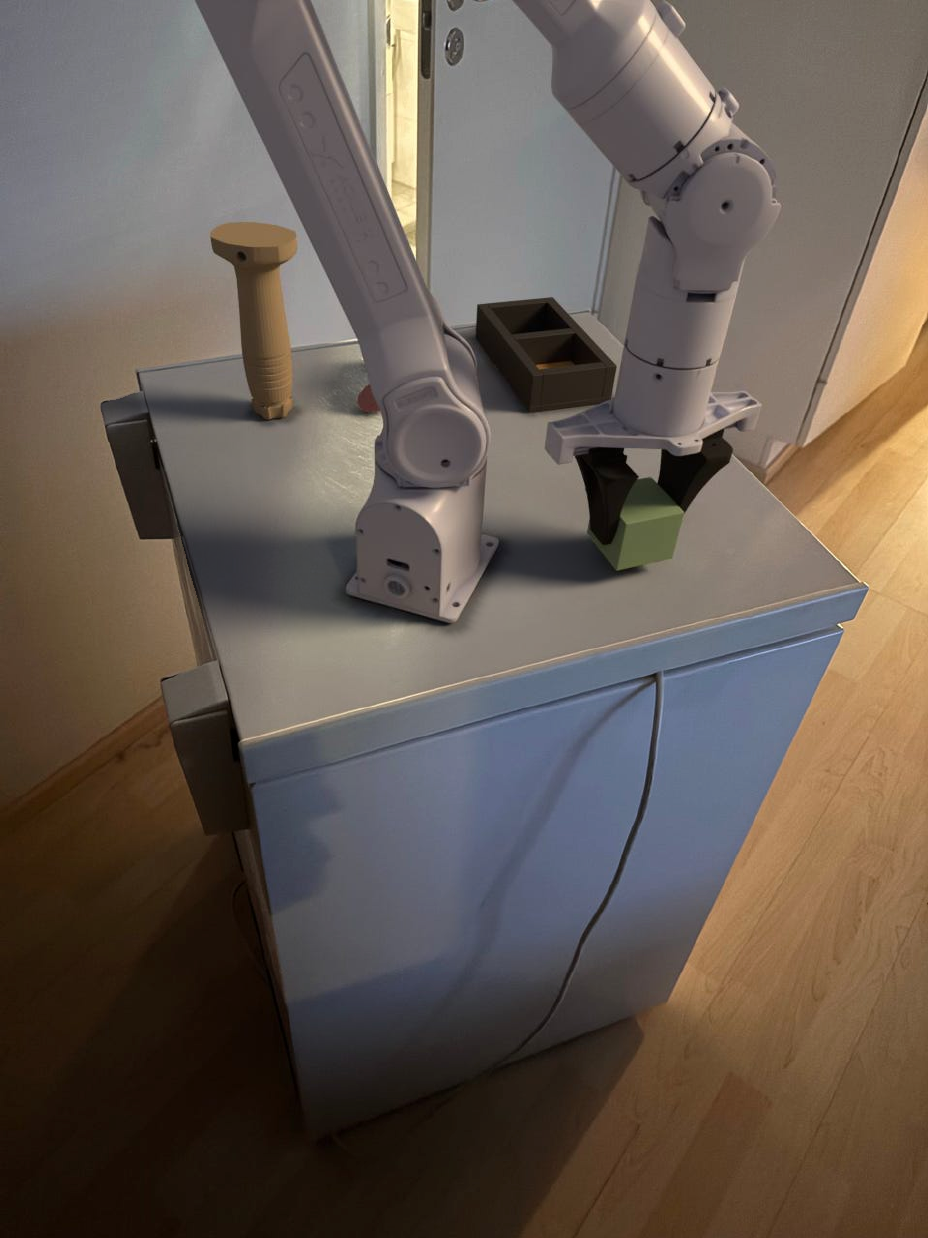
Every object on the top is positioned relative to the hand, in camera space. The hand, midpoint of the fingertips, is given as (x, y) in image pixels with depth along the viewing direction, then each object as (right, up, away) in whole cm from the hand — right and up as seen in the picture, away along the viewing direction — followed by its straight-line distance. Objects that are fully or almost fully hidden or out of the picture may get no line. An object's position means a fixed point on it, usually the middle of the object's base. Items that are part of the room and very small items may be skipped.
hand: (632, 529), depth 62 cm
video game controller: (-18, +14, +19) cm, 30 cm away
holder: (-5, +18, +23) cm, 29 cm away
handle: (-28, +12, +15) cm, 34 cm away
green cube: (0, -1, +1) cm, 1 cm away
